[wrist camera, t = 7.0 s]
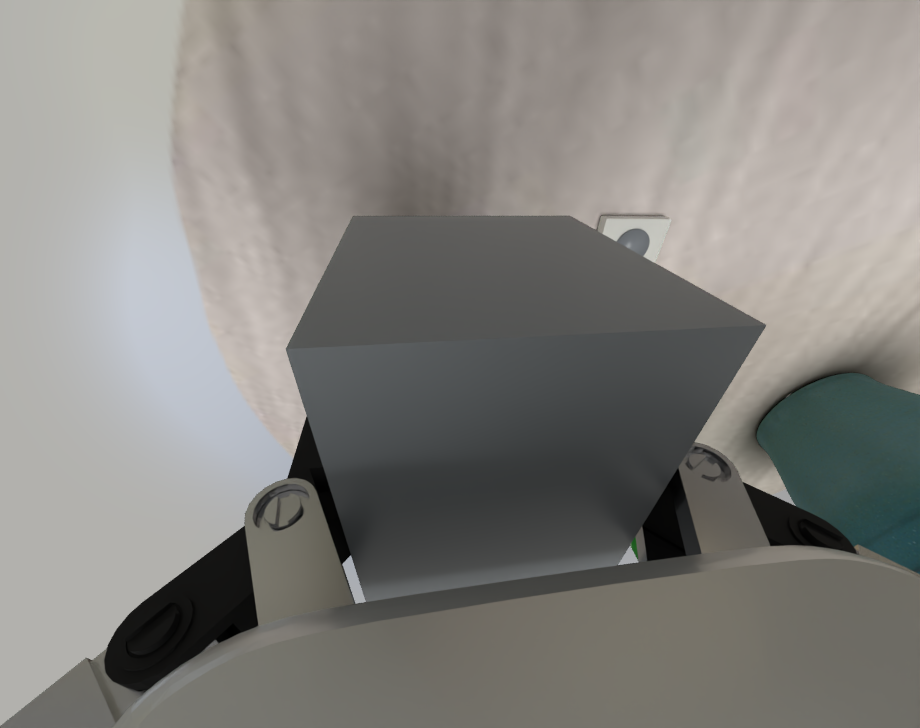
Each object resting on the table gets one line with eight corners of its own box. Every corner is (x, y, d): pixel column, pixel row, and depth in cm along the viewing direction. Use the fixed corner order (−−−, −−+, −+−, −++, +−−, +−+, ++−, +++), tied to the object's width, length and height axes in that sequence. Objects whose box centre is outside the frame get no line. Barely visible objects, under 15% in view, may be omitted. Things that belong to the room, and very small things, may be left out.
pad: (601, 215, 23) (643, 238, 19) (664, 216, 23) (718, 237, 19) (572, 321, 27) (601, 357, 23) (626, 320, 28) (663, 354, 24)
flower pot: (738, 480, 46) (876, 633, 33) (710, 412, 37) (889, 588, 23) (890, 412, 41) (1126, 559, 28) (903, 313, 32) (1277, 464, 18)
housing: (353, 215, 10) (286, 349, 4) (569, 215, 11) (766, 325, 5) (386, 451, 15) (378, 641, 10) (525, 439, 16) (591, 607, 11)
